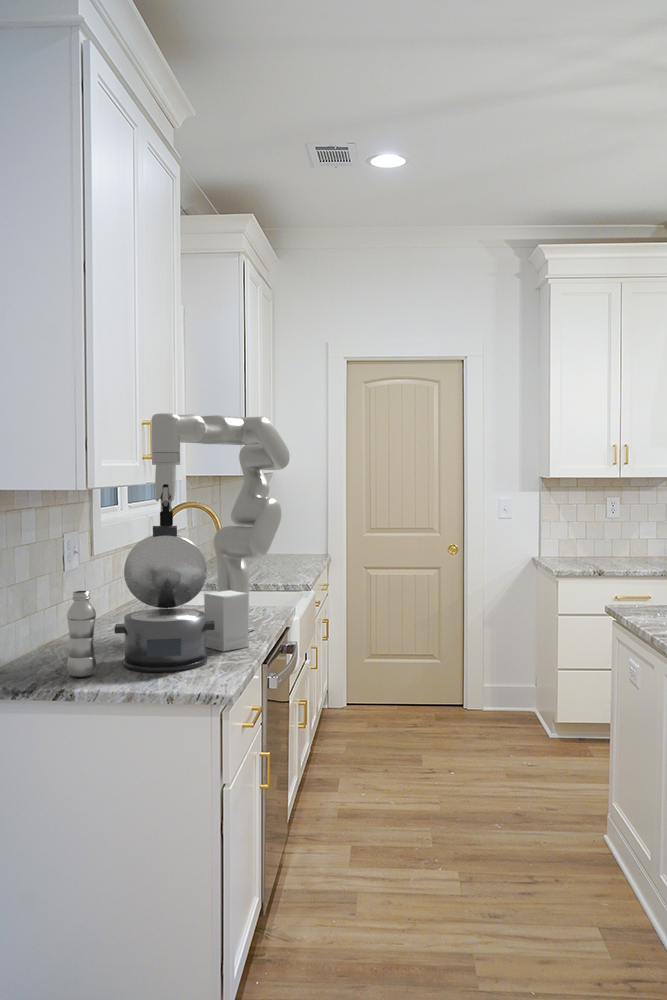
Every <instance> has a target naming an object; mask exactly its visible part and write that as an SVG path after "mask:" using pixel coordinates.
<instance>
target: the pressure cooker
mask: <svg viewBox="0 0 667 1000" xmlns="http://www.w3.org/2000/svg"><path fill="white" fill-rule="evenodd" d="M123 620H124V622H123V623H115V625H114V634H124V658H123V660H122V666H123V668H124V669H126V670H129V671H132V672H137V673H146V674H150V673H151V674H166V673H178V672H186V671H189V670H194V669H198V668H200V667H202V666H204V665H206V664H207V663H208V654H207V650H206V649H207V647H206V630H215V624H214V621H206V616H205V611H202V610H198V609H194V608H193V609H191V608H177V607H173V608H151V609H144V610H143V609H142V610H138V611H134V612H131V613H128V614H127V613H126V614H125V615H124V619H123Z"/></svg>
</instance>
